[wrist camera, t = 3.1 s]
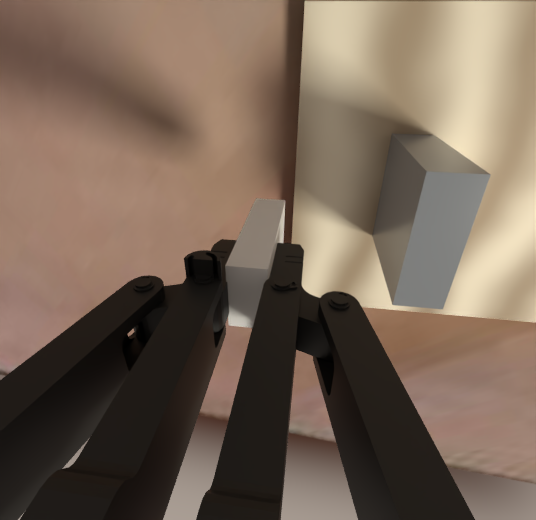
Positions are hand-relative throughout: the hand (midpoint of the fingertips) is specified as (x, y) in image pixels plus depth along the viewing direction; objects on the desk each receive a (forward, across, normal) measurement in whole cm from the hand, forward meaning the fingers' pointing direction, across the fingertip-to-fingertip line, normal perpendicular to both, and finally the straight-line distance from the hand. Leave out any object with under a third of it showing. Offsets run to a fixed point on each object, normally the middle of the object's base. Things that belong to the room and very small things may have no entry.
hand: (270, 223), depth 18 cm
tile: (+7, +8, 0) cm, 10 cm away
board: (+8, +13, 0) cm, 15 cm away
